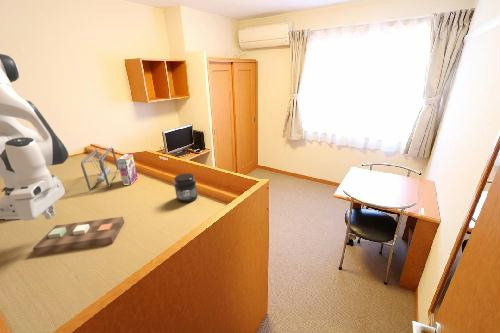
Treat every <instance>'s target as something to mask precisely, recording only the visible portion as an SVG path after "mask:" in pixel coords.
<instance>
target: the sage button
mask: <svg viewBox="0 0 500 333" xmlns="http://www.w3.org/2000/svg"><path fill="white" fill-rule="evenodd" d="M52 229H53V228H52ZM52 229H51V230H52ZM51 230H50V231H51ZM50 231H49V232H50ZM66 231H67V230H66V228H65V227H63V228H56V229H53V230H52V231H51V232H50V233H49V232H48V233H49V234H48V233H47V234H48V237H49V239H51V238H58V237H62V236H63V234H64V233H65V232H66Z"/></svg>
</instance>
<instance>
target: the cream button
mask: <svg viewBox="0 0 500 333" xmlns="http://www.w3.org/2000/svg"><path fill="white" fill-rule="evenodd" d="M89 228H90V226H89V224H85V225H78V226H77V227H76V228H75V229H74V230H73V234H74V235H79V234H86V232H87V231H88V230H89Z"/></svg>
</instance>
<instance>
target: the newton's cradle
mask: <svg viewBox="0 0 500 333" xmlns="http://www.w3.org/2000/svg"><path fill="white" fill-rule="evenodd" d="M103 151H104V152H103ZM111 152H112V155H113V159H114V162H115V166H116V171H117V170H119V166H118V162H117V156H116V152H115V149H114V148H113V147H112V146H111V147H109V148H106V149H105V148H102V149H101V148H100V149H96V148H95V149H94V150H92V151H91V152H90V153H89V154H88V155H87V156H86V157H85V158H84V159H82V161H81V163H80V166H81V169H82V173H83V175H84V178H85V181H86V185H87V187H88V190H89V191H90V190H92V189H91V188H92V186H91V183H90V181H89V178H88V175H87V172H86V168H85V166H84V164H85V163H91V165H93V168H94V169H96V167H98V166H99V169H98V171H100V172H99V173H100V174H99V173H97V175H98V177H97V178H96V181H98V183H103V182H105V183H106V188H108V187H110V186H109V185H110V183H109V180H108V176H109V174H110V172H111V168H110V167H108V166H107V165H106V164H105V163H107V160H108V159H107V158H108V157H107V156H108V155H109V153H111ZM96 157H97V158H96ZM92 158H93V160H91V159H92ZM93 162H94V163H95V165H96V167H95V165H94V163H93ZM110 188H111V187H110ZM92 191H93V190H92Z"/></svg>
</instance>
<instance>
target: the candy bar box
mask: <svg viewBox="0 0 500 333" xmlns="http://www.w3.org/2000/svg"><path fill="white" fill-rule="evenodd" d="M116 160H117V164H118V168H119V174H120V179H121V182H122V185H123V184H131V183H132V182H133V181H134V179H135V178H136V177H138V172H137V168H136V163H135V159H134V154H133V153H126V154H125V153H124V154H123V155H121V156H120V157H119V158H116ZM134 182H135V181H134ZM134 182H133V183H134ZM133 183H132V184H133ZM132 184H131V185H132Z"/></svg>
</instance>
